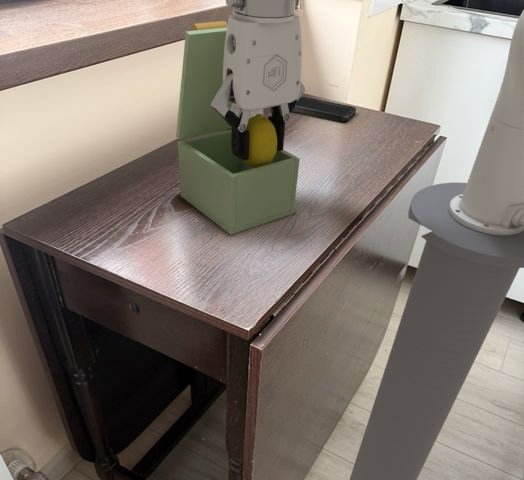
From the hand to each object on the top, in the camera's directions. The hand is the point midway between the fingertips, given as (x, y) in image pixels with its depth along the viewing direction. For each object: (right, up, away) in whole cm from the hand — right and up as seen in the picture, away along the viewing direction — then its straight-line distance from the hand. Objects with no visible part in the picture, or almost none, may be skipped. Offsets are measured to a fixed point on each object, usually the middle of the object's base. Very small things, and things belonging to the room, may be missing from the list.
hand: (257, 150), depth 73 cm
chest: (-3, -6, +8) cm, 10 cm away
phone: (+14, +25, +42) cm, 51 cm away
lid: (-5, +9, -1) cm, 10 cm away
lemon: (0, -2, +2) cm, 3 cm away
